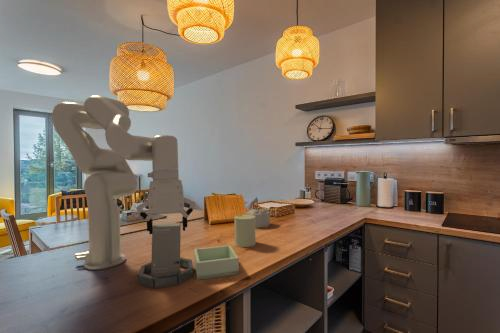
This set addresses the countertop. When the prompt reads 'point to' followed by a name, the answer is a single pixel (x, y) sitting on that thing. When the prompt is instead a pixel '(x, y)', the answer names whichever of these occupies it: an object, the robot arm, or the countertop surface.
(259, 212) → the lumpy-topped squat cylinder
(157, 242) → the skincare box
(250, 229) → the can
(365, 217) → the countertop surface
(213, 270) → the bin
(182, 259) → the socket ring
